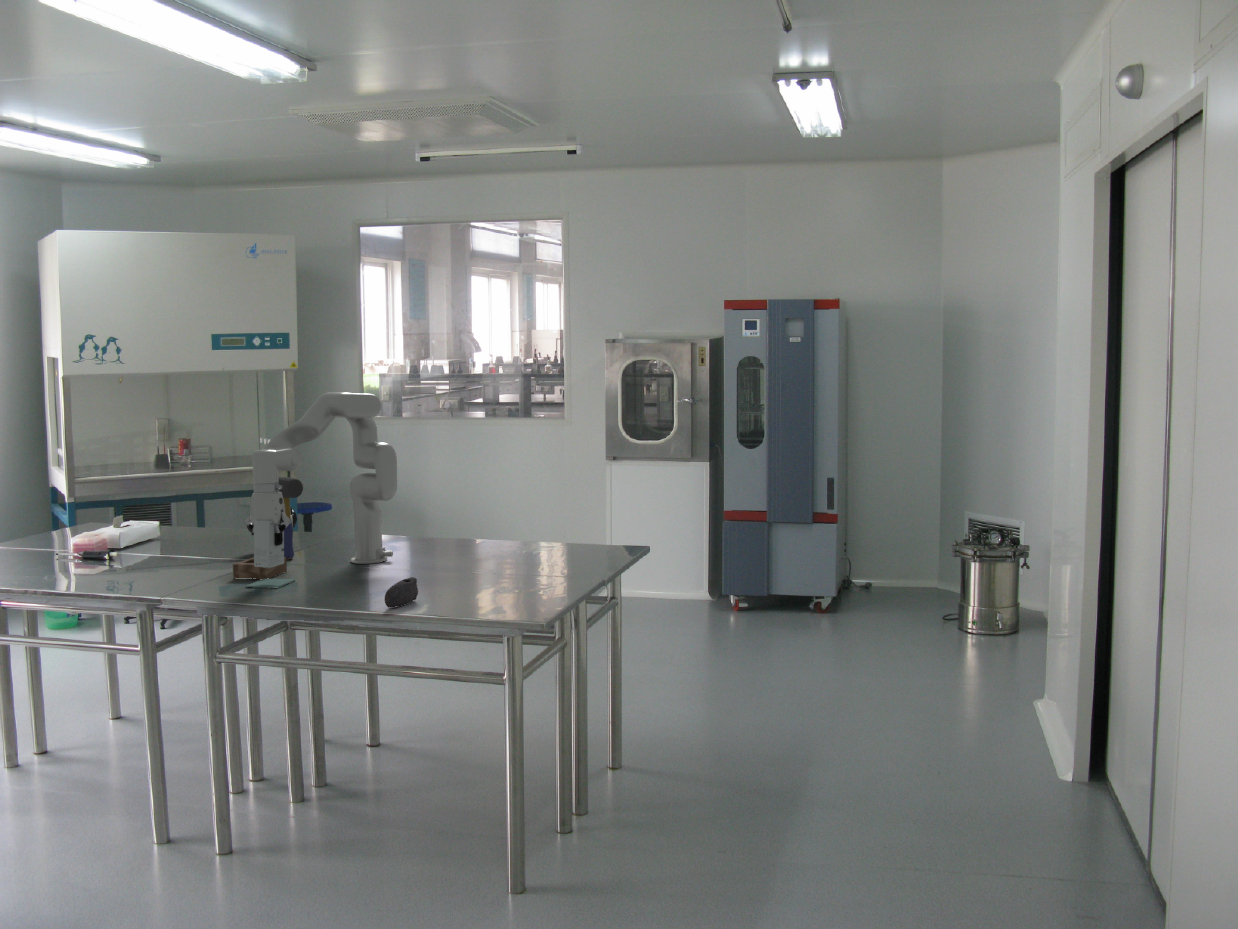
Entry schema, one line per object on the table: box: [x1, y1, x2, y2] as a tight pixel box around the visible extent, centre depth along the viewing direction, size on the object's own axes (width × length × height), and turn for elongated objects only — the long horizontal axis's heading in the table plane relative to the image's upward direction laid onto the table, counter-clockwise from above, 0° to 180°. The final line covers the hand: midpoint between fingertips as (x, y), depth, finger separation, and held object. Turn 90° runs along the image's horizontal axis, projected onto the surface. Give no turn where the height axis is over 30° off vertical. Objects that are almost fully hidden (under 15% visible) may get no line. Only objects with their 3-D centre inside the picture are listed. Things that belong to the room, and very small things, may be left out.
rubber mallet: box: [278, 476, 304, 561], centre depth 358 cm, size 12×8×30 cm, turn 55°
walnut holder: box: [232, 556, 288, 579], centre depth 331 cm, size 12×14×5 cm
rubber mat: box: [245, 578, 296, 588], centre depth 317 cm, size 11×11×1 cm
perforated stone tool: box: [384, 576, 419, 608], centre depth 285 cm, size 15×5×7 cm, turn 157°
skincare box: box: [253, 520, 284, 568], centre depth 315 cm, size 8×6×15 cm
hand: (268, 544), depth 315 cm, fingers closed on skincare box, 6 cm apart
